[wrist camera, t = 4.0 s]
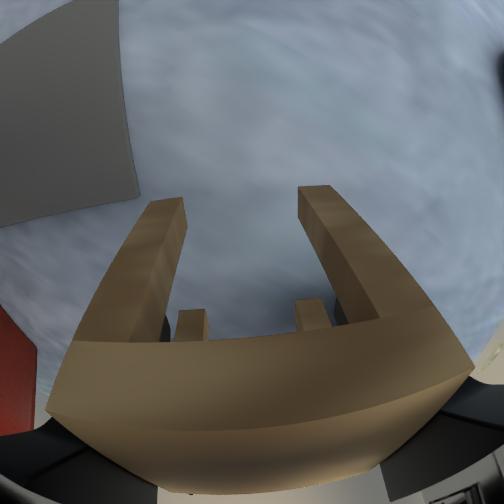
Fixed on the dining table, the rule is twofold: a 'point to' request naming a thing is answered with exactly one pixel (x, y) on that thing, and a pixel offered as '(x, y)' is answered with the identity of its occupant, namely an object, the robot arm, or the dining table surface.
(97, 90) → the charcoal mat
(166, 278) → the oak stool
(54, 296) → the dining table surface
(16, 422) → the plant pot
